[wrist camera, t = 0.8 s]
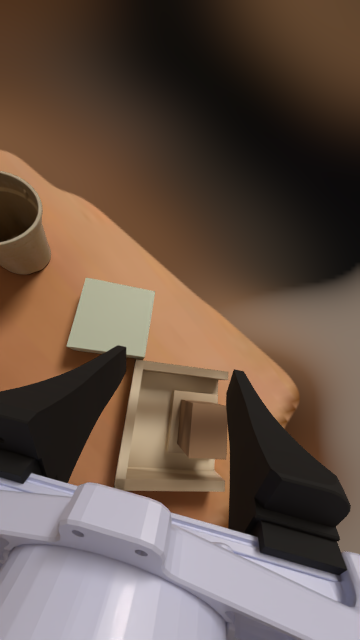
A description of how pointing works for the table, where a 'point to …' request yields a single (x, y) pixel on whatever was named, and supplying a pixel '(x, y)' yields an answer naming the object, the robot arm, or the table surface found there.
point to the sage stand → (112, 318)
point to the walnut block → (203, 429)
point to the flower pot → (21, 227)
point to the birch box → (164, 430)
